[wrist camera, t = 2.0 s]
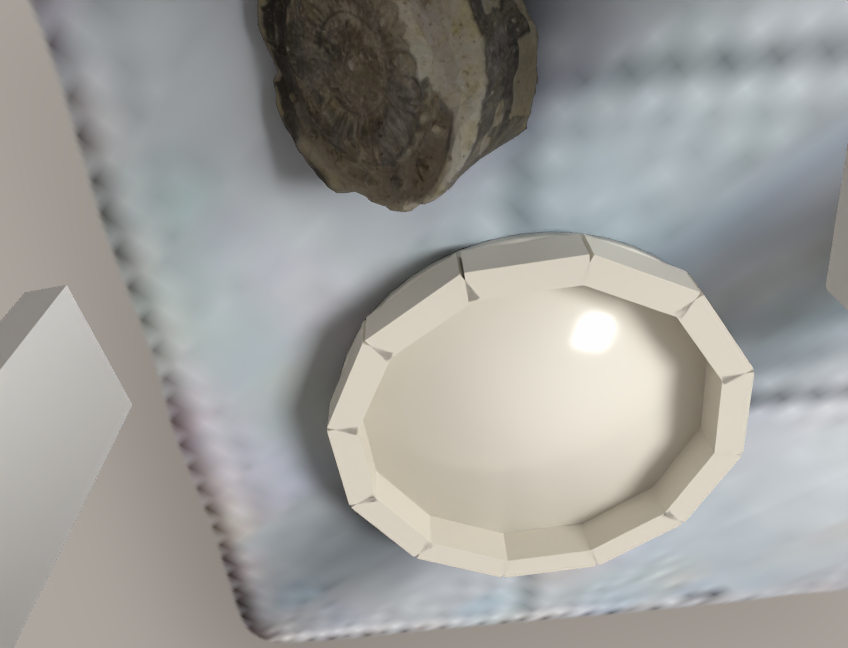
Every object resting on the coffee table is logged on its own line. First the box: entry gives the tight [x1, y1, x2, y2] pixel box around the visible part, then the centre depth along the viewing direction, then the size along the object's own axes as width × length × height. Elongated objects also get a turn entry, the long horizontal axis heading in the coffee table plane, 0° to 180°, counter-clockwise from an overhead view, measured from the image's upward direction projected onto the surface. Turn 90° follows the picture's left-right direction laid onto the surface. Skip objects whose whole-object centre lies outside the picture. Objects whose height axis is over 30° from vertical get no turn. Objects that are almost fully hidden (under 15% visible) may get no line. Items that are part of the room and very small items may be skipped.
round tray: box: [327, 232, 754, 578], centre depth 37 cm, size 21×21×3 cm
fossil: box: [258, 0, 538, 212], centre depth 25 cm, size 11×9×10 cm
